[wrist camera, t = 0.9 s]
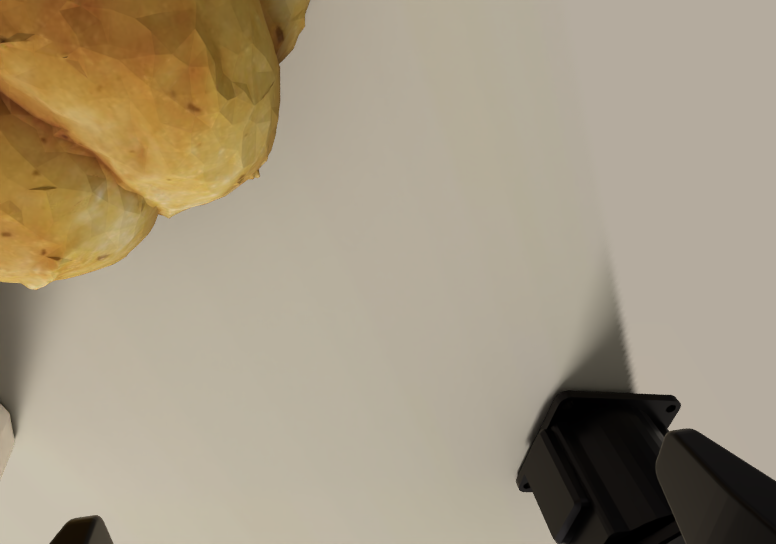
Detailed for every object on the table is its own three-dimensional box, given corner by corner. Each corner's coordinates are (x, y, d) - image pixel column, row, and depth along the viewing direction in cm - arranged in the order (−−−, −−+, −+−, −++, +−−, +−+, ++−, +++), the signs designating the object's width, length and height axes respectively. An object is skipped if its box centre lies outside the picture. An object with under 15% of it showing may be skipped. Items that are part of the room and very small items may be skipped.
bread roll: (249, -277, 14) (235, -430, 7) (376, 118, 19) (437, 243, 12) (-274, -80, 14) (-769, -45, 7) (1, 253, 19) (-137, 447, 13)
